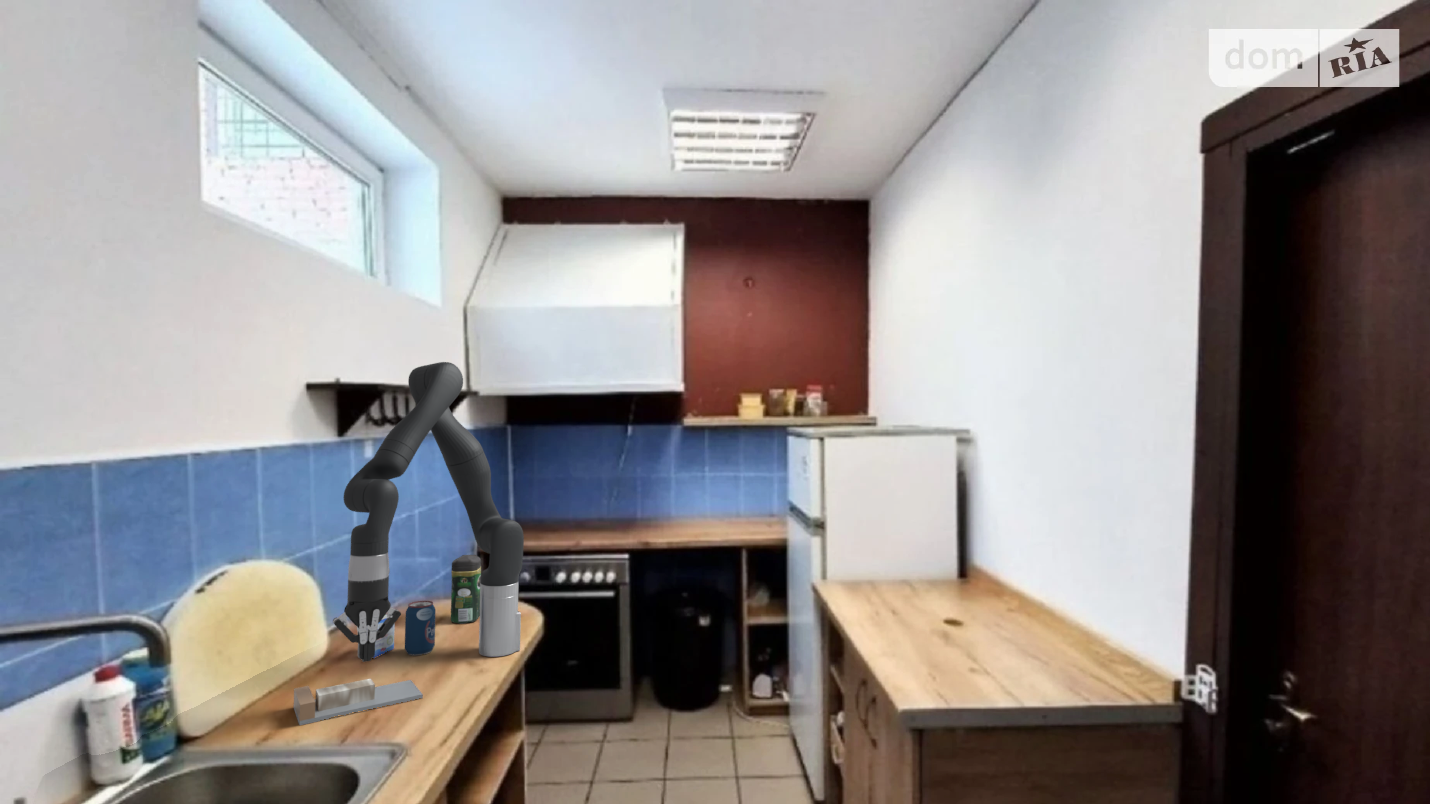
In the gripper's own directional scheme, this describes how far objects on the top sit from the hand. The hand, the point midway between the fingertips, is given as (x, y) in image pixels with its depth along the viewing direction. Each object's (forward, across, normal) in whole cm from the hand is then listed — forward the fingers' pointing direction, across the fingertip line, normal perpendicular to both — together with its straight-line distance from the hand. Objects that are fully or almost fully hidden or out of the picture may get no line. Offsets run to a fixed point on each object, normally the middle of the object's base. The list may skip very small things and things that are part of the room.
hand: (366, 660), depth 139 cm
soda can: (+8, -17, -26) cm, 32 cm away
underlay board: (+8, +1, 0) cm, 8 cm away
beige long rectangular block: (+6, -1, 0) cm, 6 cm away
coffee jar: (+8, -35, -48) cm, 60 cm away
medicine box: (+9, -8, -31) cm, 33 cm away
